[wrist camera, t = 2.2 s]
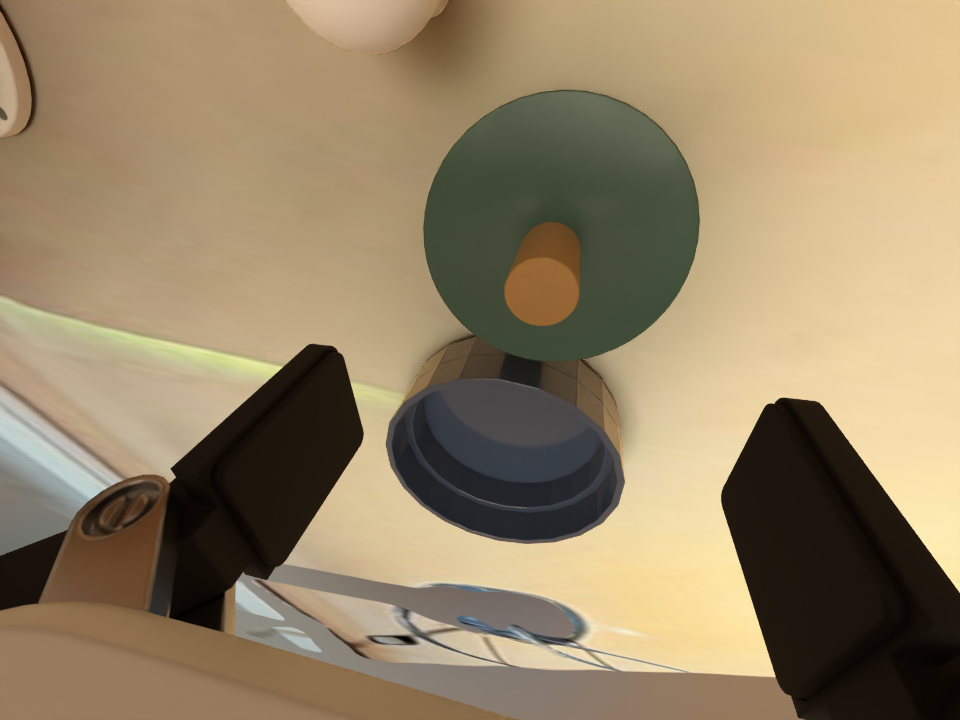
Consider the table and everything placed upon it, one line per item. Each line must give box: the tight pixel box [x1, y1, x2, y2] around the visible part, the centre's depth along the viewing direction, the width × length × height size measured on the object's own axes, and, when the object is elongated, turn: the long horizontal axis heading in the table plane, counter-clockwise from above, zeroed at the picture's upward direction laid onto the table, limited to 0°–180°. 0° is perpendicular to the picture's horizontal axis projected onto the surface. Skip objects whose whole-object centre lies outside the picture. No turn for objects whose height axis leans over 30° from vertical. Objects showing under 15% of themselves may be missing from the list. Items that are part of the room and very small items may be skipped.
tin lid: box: [423, 90, 700, 362], centre depth 18 cm, size 13×13×6 cm
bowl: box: [386, 336, 625, 544], centre depth 32 cm, size 18×18×6 cm
